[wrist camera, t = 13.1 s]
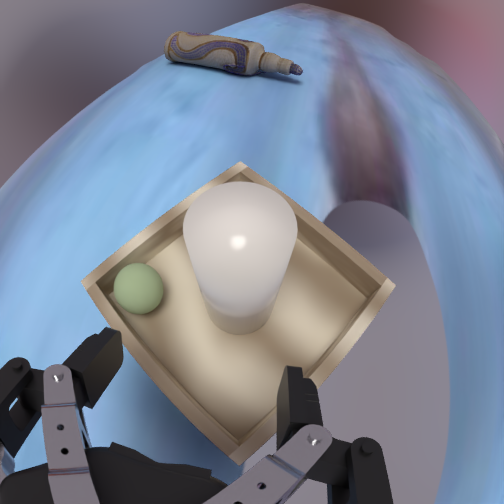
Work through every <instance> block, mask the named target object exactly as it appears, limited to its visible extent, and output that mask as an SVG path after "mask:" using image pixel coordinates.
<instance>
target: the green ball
mask: <svg viewBox="0 0 504 504" xmlns="http://www.w3.org/2000/svg"><path fill="white" fill-rule="evenodd" d="M114 294H115V298H116V300H117V302H118V303H119V305H120V306H121V307H122V308H123V309H124V310H126V311H128V312H130V313H133V314H146V313H149V312H151V311H152V310H154V309H155V308H156V307H157V306H158V305H159V303H160V301H161V299H162V296H163V282H162V279H161V277H160V275H159V274H158V273H157V271H156V270H155V269H153V268H152V267H151V266H149V265H146V264H143V263H133V264H130V265H127V266H125V267H124V268H123V269H122V270H121V271H120V272H119V273H118V275H117V276H116V279H115V282H114Z"/></svg>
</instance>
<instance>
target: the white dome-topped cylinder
mask: <svg viewBox="0 0 504 504" xmlns="http://www.w3.org/2000/svg"><path fill="white" fill-rule="evenodd" d="M297 231H298V229H297V221H296V217H295V214H294V212H293V210H292V208H291V206H290V205H289V204H288V202H287V201H286V200H285V199H284V198H283V197H282V196H281V195H279V194H278V193H277V192H275V191H274V190H272V189H270V188H268V187H266V186H263V185H260V184H256V183H252V182H241V181H239V182H228V183H224V184H220V185H217V186H214V187H212V188H210V189H208V190H207V191H205V192H203V193H202V194H201V195H200V196H198V197H197V198H196V199H195V200H194V201H193V203H192V204H191V205H190V207H189V209H188V210H187V212H186V215H185V218H184V222H183V236H184V240H185V243H186V247H187V250H188V253H189V257H190V260H191V263H192V266H193V270H194V273H195V276H196V279H197V282H198V285H199V288H200V291H201V294H202V298H203V301H204V304H205V307H206V309H207V312H208V315H209V317H210V319H211V320H212V322H213V323H214V324H215V325H216V326H217V327H218V328H220V329H221V330H223V331H225V332H227V333H230V334H235V335H245V334H249V333H252V332H254V331H257V330H258V329H260V328H261V327H262V326H263V325H264V324H265V323H266V322H267V321H268V319H269V317H270V315H271V313H272V310H273V307H274V304H275V301H276V298H277V295H278V293H279V290H280V287H281V284H282V281H283V278H284V275H285V272H286V269H287V266H288V263H289V260H290V257H291V254H292V251H293V248H294V245H295V242H296V238H297Z"/></svg>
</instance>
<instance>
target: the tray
mask: <svg viewBox="0 0 504 504" xmlns="http://www.w3.org/2000/svg"><path fill="white" fill-rule="evenodd" d="M239 181H241V182H252V183H256V184H260V185H263V186H266V187H268V188H270V189H272V190H274V191H275V192H277V193H278V194H279V195H281V196H282V197H283V198H284V199H285V200H286V201H287V202H288V204H289V205H290V206H291V208H292V210H293V212H294V214H295V217H296V221H297V229H298V231H297V238H296V242H295V245H294V248H293V251H292V254H291V257H290V260H289V263H288V266H287V269H286V272H285V275H284V278H283V281H282V284H281V287H280V290H279V293H278V295H277V298H276V301H275V304H274V307H273V310H272V313H271V315H270V317H269V319H268V321H267V322H266V323H265V324H264V325H263V326H262V327H261V328H260V329H258V330H257V331H254V332H252V333H249V334H245V335H235V334H230V333H227V332H225V331H223V330H221V329H220V328H218V327H217V326H216V325H215V324H214V323H213V322H212V320H211V319H210V317H209V315H208V312H207V309H206V307H205V304H204V301H203V298H202V294H201V291H200V288H199V285H198V282H197V279H196V276H195V273H194V270H193V266H192V263H191V260H190V257H189V253H188V250H187V247H186V243H185V240H184V236H183V222H184V218H185V215H186V212H187V210H188V209H189V207H190V205H191V204H192V203H193V201H194V200H195V199H196V198H197V197H198V196H200V195H201V194H202V193H203V192H205V191H207V190H208V189H210V188H212V187H214V186H217V185H220V184H224V183H228V182H239ZM133 263H143V264H146V265H149V266H151V267H152V268H153V269H155V270H156V271H157V273H158V274H159V275H160V277H161V279H162V282H163V296H162V299H161V301H160V303H159V305H158V306H157V307H156V308H155V309H154V310H152V311H151V312H149V313H146V314H133V313H130V312H128V311H126V310H124V309H123V308H122V307H121V306H120V305H119V303H118V302H117V300H116V298H115V294H114V282H115V279H116V276H117V275H118V273H119V272H120V271H121V270H122V269H123V268H124V267H125V266H127V265H130V264H133ZM81 282H82V284H83V286H84V287H85V289H86V291H87V292H88V294H89V295H90V297H91V298H92V300H93V302H94V303H95V305H96V306H97V308H98V309H99V311H100V312H101V314H102V315H103V317H104V318H105V319H106V321H107V322H108V324H109V325H110V327H111V328H112V329H115V330H118V331H120V332H121V335H122V343H123V344H124V346H125V347H126V348H127V350H128V351H129V352H130V354H131V355H132V356H133V357H134V359H135V360H136V361H137V362H138V364H139V365H140V366H141V367H142V369H143V370H144V371H145V372H146V373H147V375H148V376H149V377H150V378H151V379H152V380H153V382H154V383H155V384H156V385H157V386H158V387H159V388H160V390H161V391H162V392H163V393H164V394H165V395H166V396H167V397H168V399H169V400H170V401H171V402H172V403H173V404H174V405H175V406H176V407H177V408H178V409H179V410H180V411H181V412H182V413H183V414H184V415H185V416H186V417H187V419H188V420H189V421H190V422H191V423H192V424H193V425H195V426H196V427H197V428H198V429H199V430H200V431H201V432H202V433H203V434H204V435H205V436H206V437H207V438H208V439H209V440H210V441H211V442H212V443H213V444H215V445H216V446H217V447H218V448H219V449H220V450H221V451H222V452H224V453H225V454H226V455H227V456H228V457H229V458H230V459H232V460H233V461H234V462H235V463H236V464H238V465H239V466H240V465H241V464H242V463H243V462H245V461H246V460H247V459H248V458H249V457H250V456H251V455H253V454H254V453H255V452H256V451H257V450H258V449H259V448H260V447H261V446H262V445H264V444H265V443H266V442H267V441H268V440H269V439H270V438H271V437H272V436H273V435H274V434H275V433H276V432H277V393H278V388H279V385H280V382H281V378H282V375H283V372H284V368H285V366H286V365H288V366H297V367H302V371H303V378H310V379H312V381H313V382H314V383H315V385H316V386H317V389H318V388H319V387H320V386H321V385H322V383H323V382H324V381H325V380H326V379H327V378H328V377H329V375H330V374H331V373H332V372H333V371H334V369H335V368H336V367H337V365H338V364H339V363H340V362H341V361H342V359H343V358H344V357H345V356H346V354H347V353H348V352H349V351H350V350H351V348H352V347H353V346H354V344H355V343H356V342H357V340H358V339H359V338H360V336H361V335H362V334H363V332H364V331H365V330H366V328H367V327H368V326H369V324H370V323H371V321H372V320H373V319H374V317H375V316H376V314H377V313H378V312H379V310H380V309H381V307H382V306H383V304H384V302H385V301H386V300H387V298H388V297H389V295H390V294H391V292H392V291H393V289H394V288H395V286H396V285H395V284H394V283H393V282H391V281H390V280H389V279H388V278H387V277H386V276H385V275H384V274H382V273H381V272H380V271H379V270H378V269H377V268H376V267H374V266H373V265H372V264H371V263H370V262H369V261H368V260H366V259H365V258H364V257H363V256H362V255H360V254H359V253H358V252H357V251H356V250H355V249H353V248H352V247H351V246H350V245H349V244H347V243H346V242H345V241H344V240H342V239H341V238H340V237H339V236H338V235H337V234H335V233H334V232H333V231H332V230H330V229H329V228H328V227H327V226H325V225H324V224H323V223H322V222H320V221H319V220H318V219H317V218H315V217H314V216H313V215H312V214H310V213H309V212H308V211H307V210H305V209H304V208H303V207H301V206H300V205H299V204H297V203H296V202H295V201H294V200H292V199H291V198H290V197H288V196H287V195H286V194H284V193H283V192H282V191H280V190H279V189H278V188H276V187H275V186H274V185H272V184H271V183H270V182H268V181H267V180H266V179H264V178H263V177H261V176H260V175H259V174H257V173H256V172H255V171H253V170H252V169H250V168H249V167H248V166H246V165H245V164H243V163H242V162H241V161H240V162H238V163H237V164H235V165H234V166H232V167H231V168H229V169H228V170H226V171H225V172H223V173H222V174H220V175H219V176H217V177H216V178H214V179H213V180H211V181H210V182H208V183H207V184H205V185H204V186H203V187H201V188H200V189H198V190H197V191H195V192H194V193H192V194H191V195H190V196H188V197H187V198H185V199H184V200H183V201H181V202H180V203H178V204H177V205H176V206H174V207H173V208H172V209H170V210H169V211H167V212H166V213H165V214H163V215H162V216H161V217H159V218H158V219H157V220H155V221H154V222H153V223H151V224H150V225H149V226H148V227H146V228H145V229H144V230H142V231H141V232H140V233H138V234H137V235H136V236H135V237H133V238H132V239H131V240H130V241H128V242H127V243H126V244H125V245H123V246H122V247H121V248H120V249H118V250H117V251H116V252H115V253H113V254H112V255H111V256H110V257H109V258H107V259H106V260H105V261H104V262H103V263H101V264H100V265H99V266H98V267H97V268H95V269H94V270H93V271H92V272H91V273H90V274H88V275H87V276H86V277H85V278H84V279H83V280H82V281H81Z"/></svg>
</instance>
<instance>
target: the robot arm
mask: <svg viewBox="0 0 504 504" xmlns="http://www.w3.org/2000/svg"><path fill="white" fill-rule="evenodd" d="M122 362H123V346H122V335H121V332H120V331H118V330H115V329H111V328H108V327H106V328H104V329H103V330H102V331H101V332H100V333H99V335H98V334H94V335H92V336H90V337H88V338H86V339H85V340H84V341H83V342H82V344H81V345H80V346H79V347H78V348H77V349H76V350H75V351H74V352H73V353H72V354H71V355H70V356H69V357H68V358H67V359H66V360H65V361H64V363H63V364H62V365H60V364H56V365H52V366H49V367H48V368H47V369H46V370H45V371H44V370H38V369H33V368H31V366H30V363H29V362H28V360H26V359H24V358H21V357H17V358H13V359H11V360H9V361H8V362H7V363H6V364H5V365H4V366H3V367H2V368H1V369H0V504H284V503H285V502H286V501H287V499H288V498H290V497H291V496H292V495H293V494H294V492H295V491H296V490H297V489H298V488H299V487H300V486H301V485H302V484H303V483H304V482H305V481H306V480H307V479H312V480H315V481H319V482H323V483H326V484H327V495H328V504H393V499H392V494H391V489H390V484H389V479H388V475H387V470H386V465H385V461H384V456H383V452H382V448H381V446H380V445H379V443H378V442H376V441H375V440H373V439H371V438H367V437H366V438H365V437H361V438H358V439H356V440H354V441H353V443H349V442H345V441H341V440H337V439H335V438H333V437H332V435H331V433H330V432H329V431H328V430H327V429H326V428H324V427H323V422H322V416H321V410H320V404H319V398H318V392H317V386H316V385H315V383H314V382H313V381H312V379H310V378H303V371H302V367H297V366H288V365H286V366H285V368H284V372H283V375H282V378H281V382H280V385H279V388H278V393H277V452H276V453H275V454H273V455H272V456H271V455H267V456H266V457H264V458H263V459H262V460H261V461H259V462H258V463H257V464H256V465H255V466H253V467H252V468H251V469H250V470H248V471H247V472H246V473H245V474H243V475H242V476H241V477H239V478H238V479H237V480H235V481H234V482H233V483H231V484H230V485H229V486H228V485H227V484H225V483H224V482H222V481H220V480H218V479H216V478H214V477H212V476H211V470H209V469H204V468H199V467H195V466H190V465H186V464H167V463H158V462H155V461H153V460H152V459H150V458H148V457H146V456H144V455H143V454H141V453H139V452H138V451H136V450H134V449H131V448H128V447H125V446H122V445H120V444H117V443H114V442H112V443H111V445H110V447H92V445H91V442H90V438H89V434H88V430H87V426H86V422H85V417H84V413H83V410H82V408H83V407H84V406H86V407H88V408H91V409H93V407H94V405H95V404H96V402H97V401H98V399H99V398H100V397H101V395H102V394H103V392H104V391H105V389H106V388H107V386H108V385H109V383H110V382H111V380H112V379H113V377H114V376H115V374H116V373H117V372H118V370H119V369H120V367H121V365H122ZM16 398H18V400H17V402H16V403H15V404H14V405H13V407H12V408H11V409H10V411H9V407H10V405H11V404H12V403H13V401H14V400H15V399H16ZM41 416H42V424H43V433H44V442H45V449H46V455H47V461H48V463H45V464H41V465H38V466H35V467H32V468H28V469H25V470H21V471H18V472H15V471H14V468H15V462H14V457H15V456H16V454H17V452H18V451H19V449H20V448H21V446H22V444H23V443H24V441H25V440H26V438H27V437H28V435H29V434H30V432H31V430H32V429H33V427H34V426H35V424H36V423H37V421H38V420H39V418H40V417H41Z"/></svg>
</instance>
